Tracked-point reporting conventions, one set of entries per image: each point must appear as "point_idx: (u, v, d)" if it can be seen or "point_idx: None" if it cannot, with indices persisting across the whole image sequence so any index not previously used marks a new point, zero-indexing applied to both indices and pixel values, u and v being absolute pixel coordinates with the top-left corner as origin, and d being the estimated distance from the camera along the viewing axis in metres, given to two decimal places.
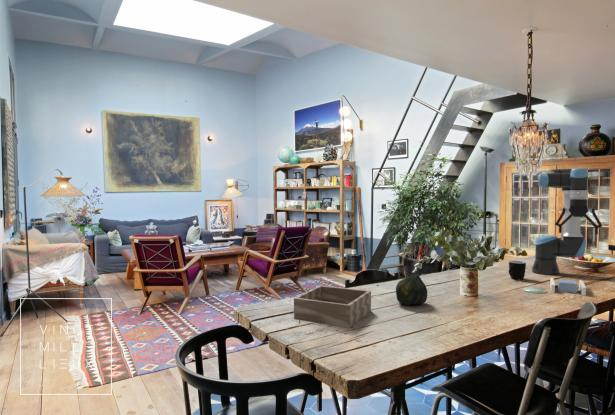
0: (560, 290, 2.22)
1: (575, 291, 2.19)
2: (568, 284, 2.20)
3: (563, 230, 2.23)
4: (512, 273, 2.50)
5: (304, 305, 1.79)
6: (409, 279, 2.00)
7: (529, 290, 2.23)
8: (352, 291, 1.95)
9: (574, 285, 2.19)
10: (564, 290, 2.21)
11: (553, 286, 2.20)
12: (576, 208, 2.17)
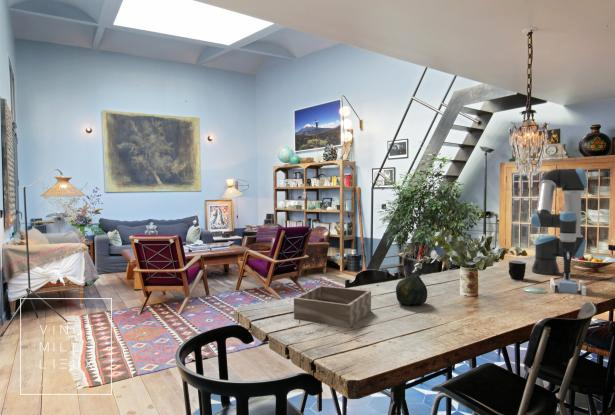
0: (560, 291, 2.21)
1: (575, 291, 2.18)
2: (568, 284, 2.19)
3: None
4: (512, 273, 2.50)
5: (304, 305, 1.79)
6: (409, 279, 2.00)
7: (529, 290, 2.23)
8: (352, 291, 1.95)
9: (574, 285, 2.18)
10: (564, 290, 2.20)
11: (553, 286, 2.20)
12: None
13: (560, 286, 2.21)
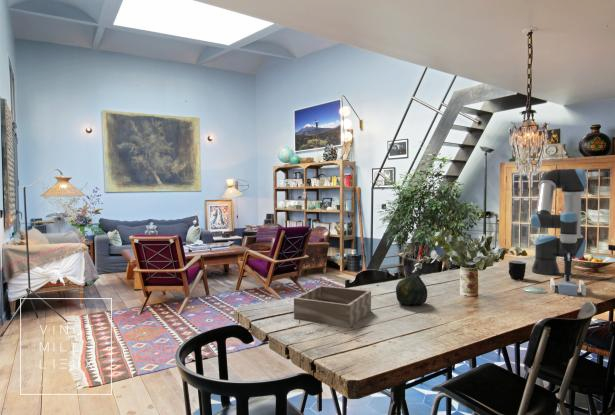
0: (560, 293, 2.17)
1: (575, 293, 2.14)
2: (568, 286, 2.15)
3: None
4: (512, 273, 2.50)
5: (304, 305, 1.79)
6: (409, 279, 2.00)
7: (529, 290, 2.23)
8: (352, 291, 1.95)
9: (574, 287, 2.14)
10: (564, 292, 2.16)
11: (553, 286, 2.20)
12: None
13: (560, 288, 2.17)
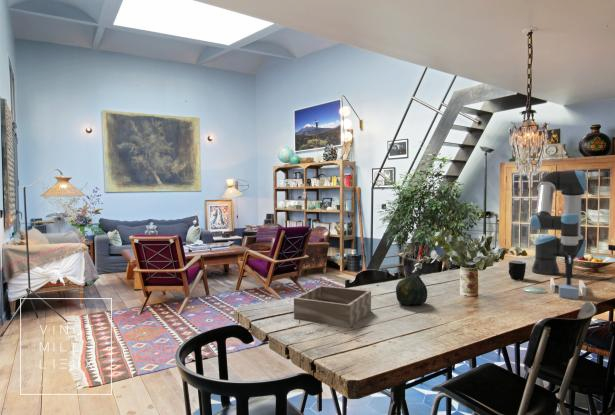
0: (561, 296, 2.11)
1: (577, 297, 2.08)
2: (569, 289, 2.09)
3: None
4: (512, 273, 2.50)
5: (304, 305, 1.79)
6: (409, 279, 2.00)
7: (529, 290, 2.23)
8: (352, 291, 1.95)
9: (575, 291, 2.08)
10: (565, 296, 2.10)
11: (553, 286, 2.20)
12: None
13: (560, 291, 2.11)
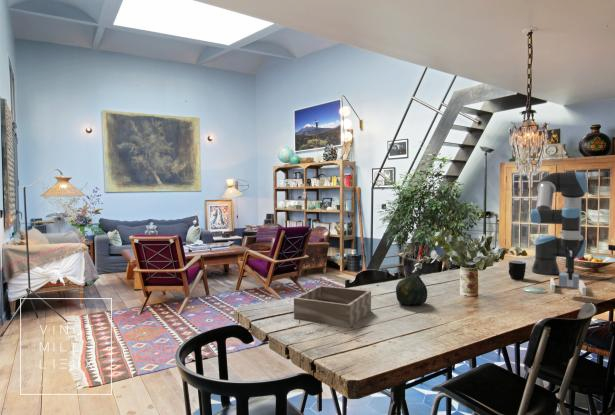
0: (560, 284, 2.11)
1: (576, 284, 2.07)
2: None
3: None
4: (512, 273, 2.50)
5: (304, 305, 1.79)
6: (409, 279, 2.00)
7: (529, 290, 2.23)
8: (352, 291, 1.95)
9: (575, 278, 2.07)
10: (564, 283, 2.10)
11: (553, 286, 2.20)
12: (567, 246, 2.12)
13: (560, 279, 2.11)
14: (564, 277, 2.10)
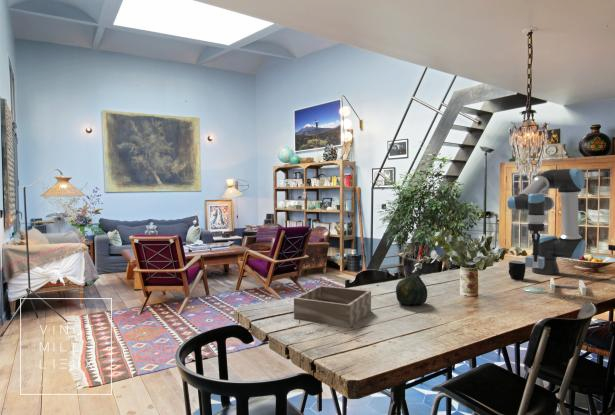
0: (526, 265, 2.23)
1: (541, 266, 2.19)
2: None
3: None
4: (512, 273, 2.50)
5: (304, 305, 1.79)
6: (409, 279, 2.00)
7: (529, 290, 2.23)
8: (352, 291, 1.95)
9: (540, 260, 2.19)
10: (530, 265, 2.22)
11: (553, 286, 2.20)
12: None
13: (526, 261, 2.23)
14: (530, 259, 2.22)
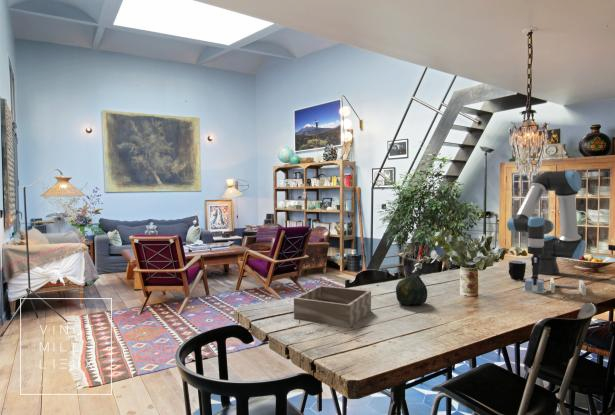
0: (526, 288, 2.23)
1: (540, 289, 2.20)
2: None
3: None
4: (512, 273, 2.50)
5: (304, 305, 1.79)
6: (409, 279, 2.00)
7: None
8: (352, 291, 1.95)
9: (539, 283, 2.20)
10: (530, 288, 2.22)
11: (553, 286, 2.20)
12: None
13: (526, 284, 2.23)
14: (529, 282, 2.22)
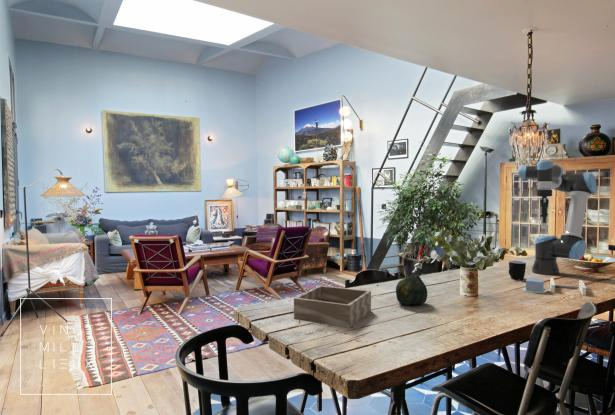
0: (527, 289, 2.23)
1: (541, 289, 2.20)
2: (535, 282, 2.21)
3: None
4: (512, 273, 2.50)
5: (304, 305, 1.79)
6: (409, 279, 2.00)
7: None
8: (352, 291, 1.95)
9: (540, 283, 2.20)
10: (531, 288, 2.22)
11: (553, 286, 2.20)
12: None
13: (527, 284, 2.23)
14: (530, 282, 2.22)
